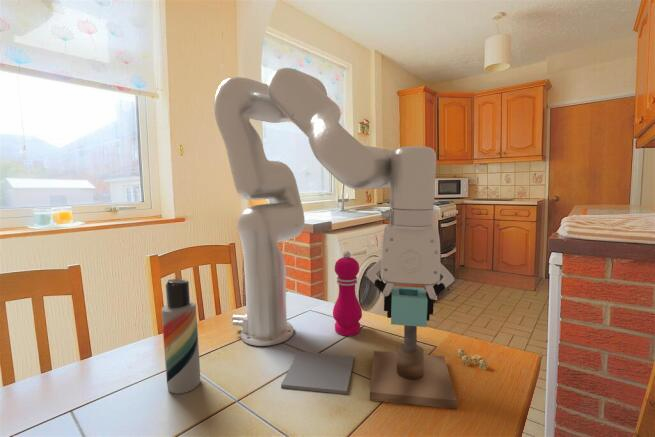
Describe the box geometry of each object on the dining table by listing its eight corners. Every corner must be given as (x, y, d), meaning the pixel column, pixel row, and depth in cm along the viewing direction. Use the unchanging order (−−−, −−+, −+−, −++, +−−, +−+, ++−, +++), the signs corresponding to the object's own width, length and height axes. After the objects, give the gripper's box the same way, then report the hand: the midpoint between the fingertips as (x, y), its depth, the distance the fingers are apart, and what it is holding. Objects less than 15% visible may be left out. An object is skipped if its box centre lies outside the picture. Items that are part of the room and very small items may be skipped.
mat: (281, 387, 62) (281, 384, 61) (298, 354, 73) (298, 351, 73) (347, 394, 59) (347, 390, 59) (354, 358, 71) (354, 355, 71)
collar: (391, 324, 60) (391, 296, 59) (390, 310, 66) (391, 285, 65) (426, 327, 59) (427, 299, 58) (423, 313, 65) (424, 287, 64)
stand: (369, 400, 58) (369, 336, 56) (373, 357, 71) (373, 305, 70) (456, 408, 55) (458, 342, 54) (443, 363, 69) (444, 309, 68)
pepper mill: (363, 337, 81) (363, 254, 78) (332, 337, 81) (331, 254, 79) (360, 324, 88) (360, 248, 86) (333, 324, 88) (331, 248, 86)
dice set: (488, 373, 66) (488, 364, 66) (460, 369, 68) (460, 360, 67) (483, 360, 71) (484, 351, 71) (457, 356, 72) (457, 348, 72)
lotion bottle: (164, 383, 63) (156, 279, 61) (195, 372, 67) (189, 273, 65) (171, 398, 59) (163, 286, 57) (204, 386, 62) (198, 280, 60)
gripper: (360, 219, 58) (358, 321, 60) (467, 222, 55) (461, 329, 57) (363, 214, 65) (362, 305, 67) (458, 217, 62) (453, 311, 64)
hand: (407, 315), depth 62 cm, fingers closed on collar, 5 cm apart
